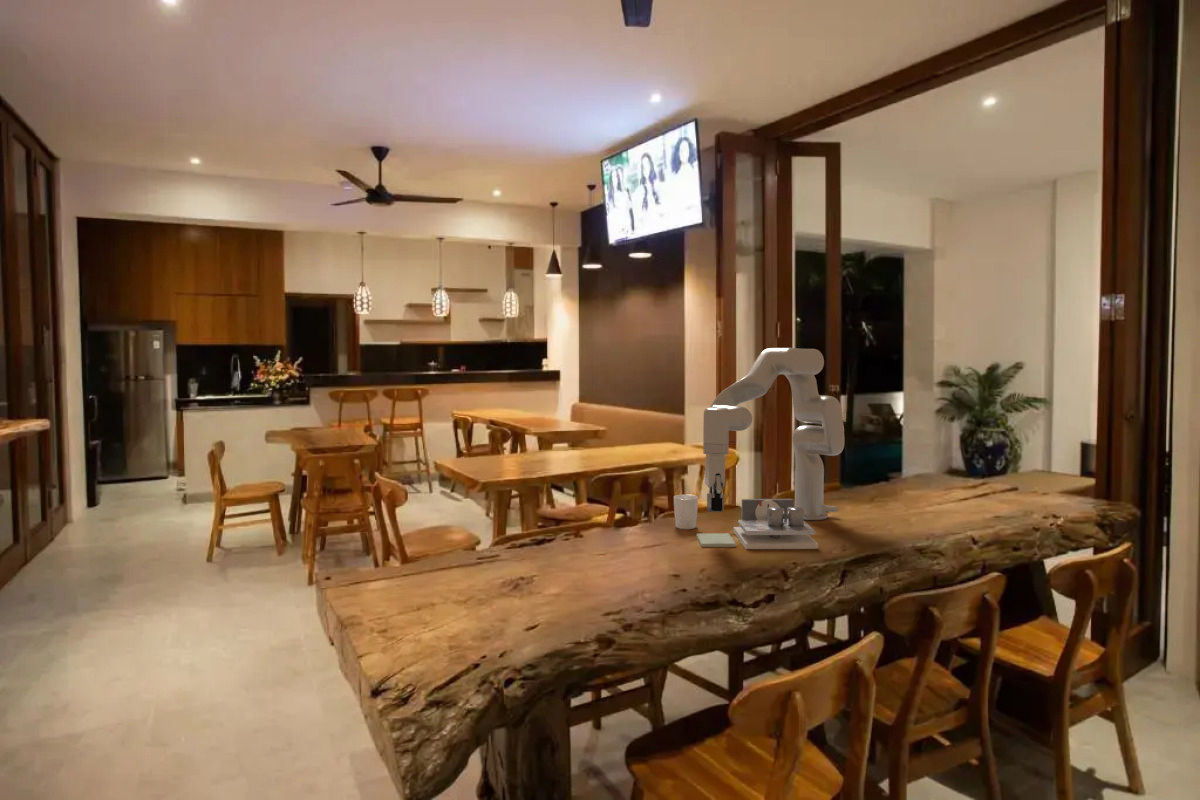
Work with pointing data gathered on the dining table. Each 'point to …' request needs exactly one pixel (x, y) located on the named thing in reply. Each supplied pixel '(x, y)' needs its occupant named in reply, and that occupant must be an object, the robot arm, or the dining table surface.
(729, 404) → the robot arm
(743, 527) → the scale pan
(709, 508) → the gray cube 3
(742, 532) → the scale housing
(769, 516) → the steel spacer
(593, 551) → the dining table surface
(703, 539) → the green pad
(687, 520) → the white cup
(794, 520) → the steel spacer
